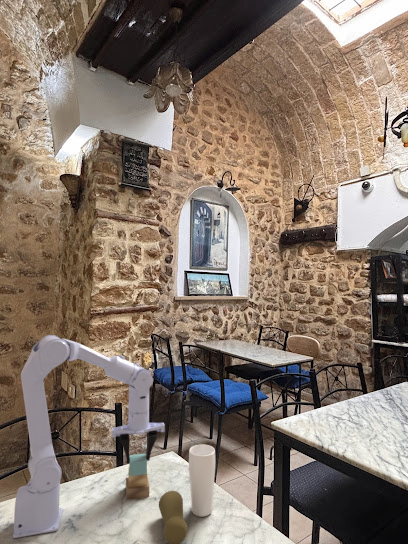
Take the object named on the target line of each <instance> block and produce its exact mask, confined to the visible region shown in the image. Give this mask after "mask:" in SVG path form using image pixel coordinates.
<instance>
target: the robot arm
mask: <svg viewBox="0 0 408 544" xmlns="http://www.w3.org/2000/svg"><path fill="white" fill-rule="evenodd" d="M125 358H126V357H125V356H123V355H122V354H120V355H119V356H118V355H113V356H110V357H108V356H106V355H103V354H102V353H100V352H98V351H96V350H94V349H92V348H90V347H88V346H86V345H83V343H82V344H81V343H80V342H76V341H73V340H70V339H67V338H64V337H63V338H60V337H59V336H57V335H54V334H49V335H45V336H43V337H42V338H41V339H39V340H38V342H36V344H34V345H33V346H32V349H31V351H30V354H29V356H28V358H27V360H26V362H25V363H24V366H23V368H22V370H21V372H20V373H21V374H20V378H21V379H20V380H21V386H22V394H23V395H22V396H23V401H24V408H25V415H26V423H27V430H28V437H29V444H30V448H29V450H30V457H29V460H28V463H27V467H28V468H27V469H28V471H29V473H30V479H29V480H28V482H27V484H25V485H23V486H20V487H18V489H17V493H16V496H15V497H16V498H15V502H14V519H13V535H12V538H13V539H18V538H24V537H27V536H34V535H39V534H46V533H51V532H57V531H58V530H59V528H60V524H61V518H62V514H63V508H62V507H60V499H61V498H60V495H61V494H60V492H61V491H60V490H61V479H62V476H63V475H62V473H63V472H62V471H63V470H62V468H61V466H60V464H59V463H58V461H57V458H56V454H55V451H54V447H53V446H54V445H53V441H52V434H51V427H50V418H49V413H48V412H49V411H48V403H47V396H46V391H45V390H46V389H45V382H44V380H45V378H46V377H47V376H48V375H49V374H50V373H51V371H52V370H53V369H55V368H57V367H58V366H60V365H62V364H63V363H64V362H65V361H66V360H67V361H68V362H72V361H76V360H81V361H83V362H85V363H88V364H91V365H94V366H96V367H99V368H101V369H103V370H104V374H105V376H106V377H109V378H112V379H114V380H116V381H119V382H121V383H123V384H126V385H129V386H128V413H127V414H128V418H127V419H128V420H127V424H125V425H120V426H117V427H112V428H111V438H112V439H113V438H116V437H119V441H120V443H121V446H122V448H123V450H124V453H125V458H126V464H129V463H130V457H129V455H130V442H131V441H130V436H131V435H132V436H133V435H136V436H138V435H143V434H146V448H145V449H146V452H145V454H146V459H147V462H148V461H150V458H151V453H152V450H153V448H154V445H155V443H156V441H157V439H158V432H160V433H165V426H166V425H165V423H164V422H150V388H151V386H153V382H154V378H153V376H152V373H151V371H150V370H148V369H147V368H145V367H142V366H140V364H139V362H134V363H133V362H132V361H129V360H127V359H125Z"/></svg>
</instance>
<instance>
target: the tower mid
mask: <svg viewBox="0 0 408 544" xmlns="http://www.w3.org/2000/svg"><path fill="white" fill-rule="evenodd" d="M147 477H148V473H147V474H143V475H135V476H130V471H129V470H128V477H127V478H128V486H129V488H130V487H138V486H146V485H147Z"/></svg>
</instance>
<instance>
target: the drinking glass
mask: <svg viewBox="0 0 408 544" xmlns="http://www.w3.org/2000/svg"><path fill="white" fill-rule="evenodd" d="M188 451H189V452H188V472H189V485H190V499H191V500H190V501H191V503H190V504H191V507H190V508H191V512H192V513H193V514H194V515H195V516H197V517H199V518H200V517H201V518H202V517H207V516H209V515H211V513H212V511H213V501H214V488H215V487H214V486H215V473H216V450H215V448H214V447H213V446H212V445H208V444H204V443H203V444H196V445H192V446H191V447H190V448H189V450H188Z"/></svg>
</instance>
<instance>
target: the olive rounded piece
mask: <svg viewBox="0 0 408 544" xmlns="http://www.w3.org/2000/svg"><path fill="white" fill-rule="evenodd" d="M183 501H184V499H183V497H182V495H181V493H180V492H178V491H175V490H169V491H166V492H165V493H164V494H162V495H161V496H160V498H159V501H158V508H159V511H160V514H161V517H162V520H163V523H164V527H163V536H164V539H165V540H166V542H167V544H182V543H183V542H184V541H185V539H186V537H187V535H188V526H187V523H186V521H185V520H184V502H183Z"/></svg>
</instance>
